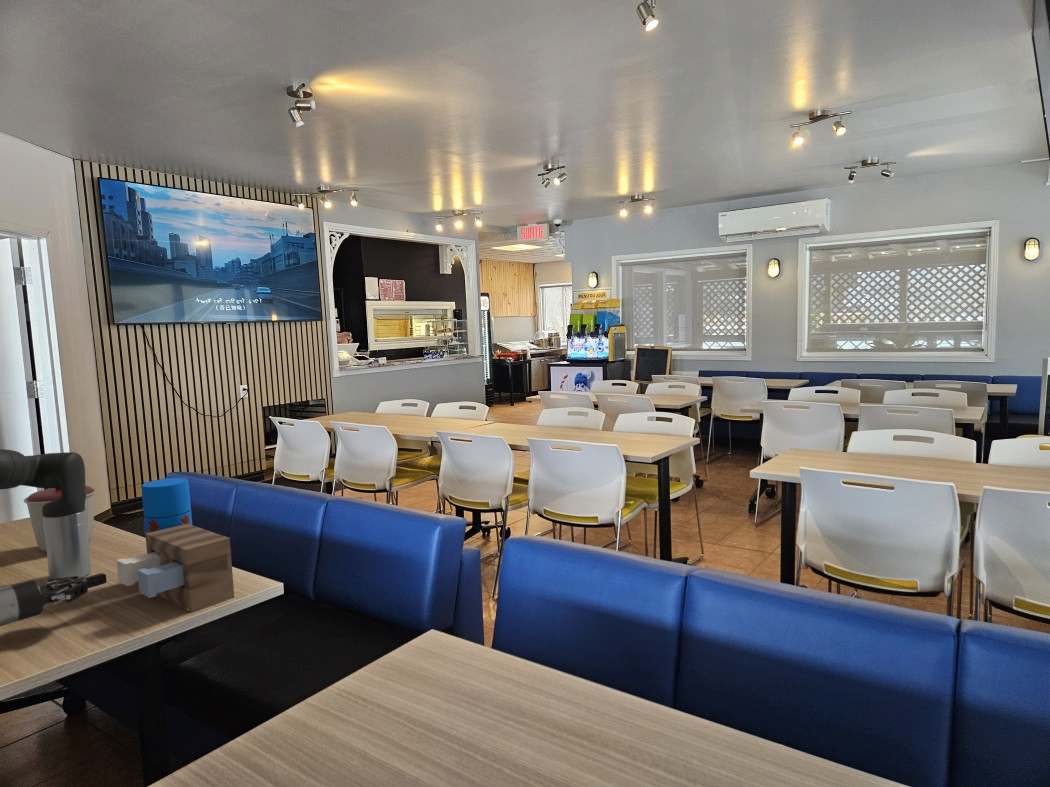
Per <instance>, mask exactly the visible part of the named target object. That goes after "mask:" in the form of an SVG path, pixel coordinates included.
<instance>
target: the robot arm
mask: <svg viewBox="0 0 1050 787" xmlns="http://www.w3.org/2000/svg"><path fill="white" fill-rule="evenodd" d="M21 486H24V487H32V488H38V489H43V490H45V489H50V488H62V491H61V496H60V497H59V498H58V499H56V500H54V501H51V502H48V503H46V504H45V505H43V507H42V514H43V523H44V532H45V541H46V550H47V552H46V558H47V568H48V569H47V570H48V577H49V578H48V579H47V582H46V583H45V584H41V585H40V583H39V581H37V580H36V579H31V580H27V581H23V582H19V583H16V584H11V585H8V586H4V587H0V627H3V626H6V625H9V624H13V623H16V622H20V621H23V620H25V619H29V618H32V617H36V616H39V615H41V614H42V613H43V611H44V606H46V605H47V604H52V605H53V604H55V605H56V604H57V603H58V604H59V603H61V602H62V601H64V602H65V604H70V603H72V602H73V601H76V600H77V599H79V598H80V597H83V596H84V595H85V594H87V593H88V592H89V589H92V588H94V587H99V586H102V585H105V584H106V583H107V582H108V580H107V575H106V573H102V572H100V573H97V574H94V575H93V574H92V575H90V574H91V573H92V564H91V552H90V542H89V541H88V531H87V521H86V512H85V500H86V486H87V485H86V467H85V462H84V459H83V457H82V455H80V454H79V453H78V452H74V451H73V452H50V453H42V454H36V455H24V454H23V453H22V452H20V451H17V450H14V449H13V450H11V449H0V490H9V489H15V488H17V487H21ZM89 575H90V576H89Z"/></svg>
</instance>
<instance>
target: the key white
mask: <svg viewBox="0 0 1050 787" xmlns="http://www.w3.org/2000/svg"><path fill="white" fill-rule="evenodd" d="M158 566H161V558H160V553H158V552H152V553H148V554H147V553H144V554H142V555H138V556H134V557H131V558H130V557H129V558H119V559H116V568H117V579H118V582H119V583H120V584H122V585H125V586H126V587H130V586H133V585H135V583H137V582H139V581H138V570H140V569H144V568H145V569H151V568H154V567H158Z"/></svg>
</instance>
